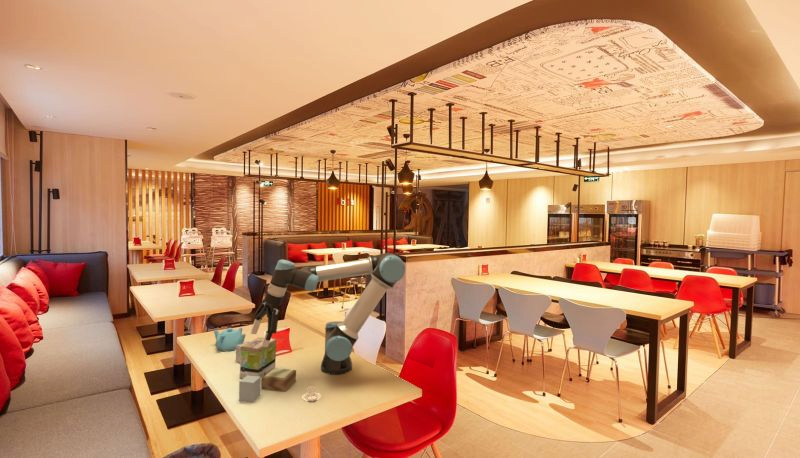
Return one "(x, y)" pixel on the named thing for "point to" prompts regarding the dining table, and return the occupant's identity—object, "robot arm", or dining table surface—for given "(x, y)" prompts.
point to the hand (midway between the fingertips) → (258, 340)
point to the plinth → (278, 379)
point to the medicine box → (239, 351)
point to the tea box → (257, 358)
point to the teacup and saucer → (311, 394)
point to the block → (249, 388)
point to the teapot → (229, 339)
